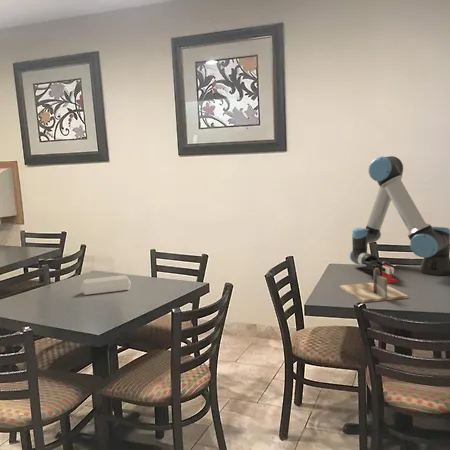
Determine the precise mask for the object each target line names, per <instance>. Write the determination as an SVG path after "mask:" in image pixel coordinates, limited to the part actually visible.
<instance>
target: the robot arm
mask: <svg viewBox="0 0 450 450" xmlns="http://www.w3.org/2000/svg"><path fill="white" fill-rule="evenodd" d="M403 173H404V163H403V162H402V160H401V159H400V158H398V157H396V156H391V155H389V156H379V157H376V158H374V159H373V160H371V162H370V163H369V166H368V175H369V177H370V179H372V180H373V181H375V182H377V183H378V186H379V188H378V191H377V194H376V197H375V201H374V203H373V206H372V209H371V212H370V215H369V217H368V221H367V223H366V227H355V228H352V235H351V237H352V240H351V241H352V248H351V249H352V250H351V251H350V252H349V255H348V256H349V259H350V261H351V262H352V263H354V264H356V265H359V266H361V267H362V268H364V269H366V270H370V271H374V270H375V268H379V270H380V274H381V273H382V272H385V273H387V274H390V269H391V274H392V275H394V274H395V268H394V267H392V264H391V263H390V262H388V260H384V261H382V260H379V259H378V257H377V256H375V255H374V254H371V253H370V252H369V253H368V244H371V243H376V242H377V241H379V240H380V239H381V237H382V234H381V233H382V232H381V229H382V226H383V223H384V221H385V217H386V215H387V212H388V208H389V206H390V204H391V202H392V204H393V206H394V208H395V209H396V211H397V213H398V214H399V216H400V218H401V220H402V222H403V224H404V225H405V227H406V228H407V230H408V234H407V236H408V239H409V241H410V243H409V248H410V250H411V251H412V253H413V254H414V255H415V256H417V257H420V258H423V259H422V262H421V265H420V272H421V273H423V274H425V275H430V276H431V275H432V276H449V275H450V228H449V227H442V226H432V225H431V224H430V223H426V221H425V220H424V217H423V216H422V214H421V213H420V211H419V209H418V207H417V206H416V204H415V202H414V201H413V200H414V199H413V198H412V197H411V195H410V194H409V192H408V189H406V187H405V185H404V183H403V181H402V178H403ZM384 265H388V266H389V267H390V268H388V267H385V266H384Z"/></svg>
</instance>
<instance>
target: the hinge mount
mask: <svg viewBox="0 0 450 450" xmlns="http://www.w3.org/2000/svg"><path fill="white" fill-rule="evenodd" d="M380 275H381V273H380V270H379V268H375V270H373V282H365V283H364V282H363V283H355V284H353V283H352V284H343V285H339V289H341V290H343V291H345V292H346V293H348V294H350V296H352V297H354V298H355V299H357V300H359V301H360V302H362V303H370V302H380V301H381V302H382V301H391V300H392V301H393V300H401V299H408V298H409V295H407V294H405V293H403V292H401V291H399V290H397V289H395V288H393V287H391V286H390V285H388V283H387V279H386V278H384V277H382V276H380Z"/></svg>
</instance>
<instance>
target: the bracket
mask: <svg viewBox="0 0 450 450" xmlns="http://www.w3.org/2000/svg"><path fill="white" fill-rule="evenodd" d="M384 266H385V267H388V268H390V267H389V266H388V265H384ZM381 273H382V274H380V276H382V277H384V278H386V279H387V284H398V283H399V280H398V279H397V278H394V277H392V275H393V274H391V269H390V274H387V273H385V272H381Z"/></svg>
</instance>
